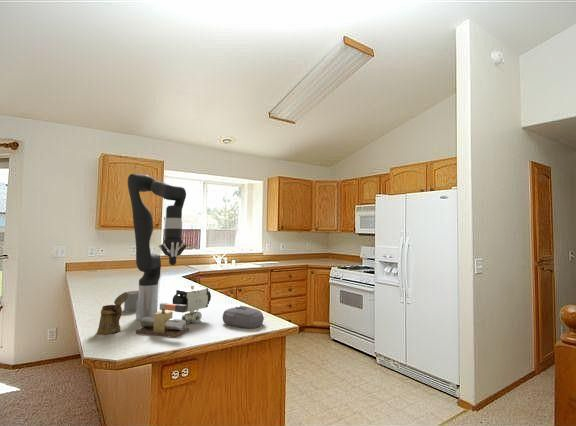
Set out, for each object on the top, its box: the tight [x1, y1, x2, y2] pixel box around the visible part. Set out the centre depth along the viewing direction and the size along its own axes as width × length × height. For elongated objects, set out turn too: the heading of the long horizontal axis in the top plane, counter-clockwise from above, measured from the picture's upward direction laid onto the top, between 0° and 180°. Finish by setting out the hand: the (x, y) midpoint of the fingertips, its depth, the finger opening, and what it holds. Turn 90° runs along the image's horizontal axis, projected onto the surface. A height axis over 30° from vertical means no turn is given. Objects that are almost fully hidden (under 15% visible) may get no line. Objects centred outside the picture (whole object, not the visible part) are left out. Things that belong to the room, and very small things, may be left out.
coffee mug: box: [123, 290, 139, 313], centre depth 190 cm, size 13×10×10 cm
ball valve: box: [172, 285, 212, 324], centre depth 163 cm, size 18×8×18 cm, turn 142°
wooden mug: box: [96, 291, 128, 336], centre depth 146 cm, size 9×14×18 cm, turn 69°
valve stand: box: [135, 310, 190, 338], centre depth 146 cm, size 20×10×10 cm, turn 75°
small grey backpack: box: [222, 305, 265, 329], centre depth 160 cm, size 15×8×20 cm
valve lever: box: [159, 302, 188, 314], centre depth 145 cm, size 14×3×3 cm, turn 68°
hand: (172, 264), depth 154 cm, fingers closed
